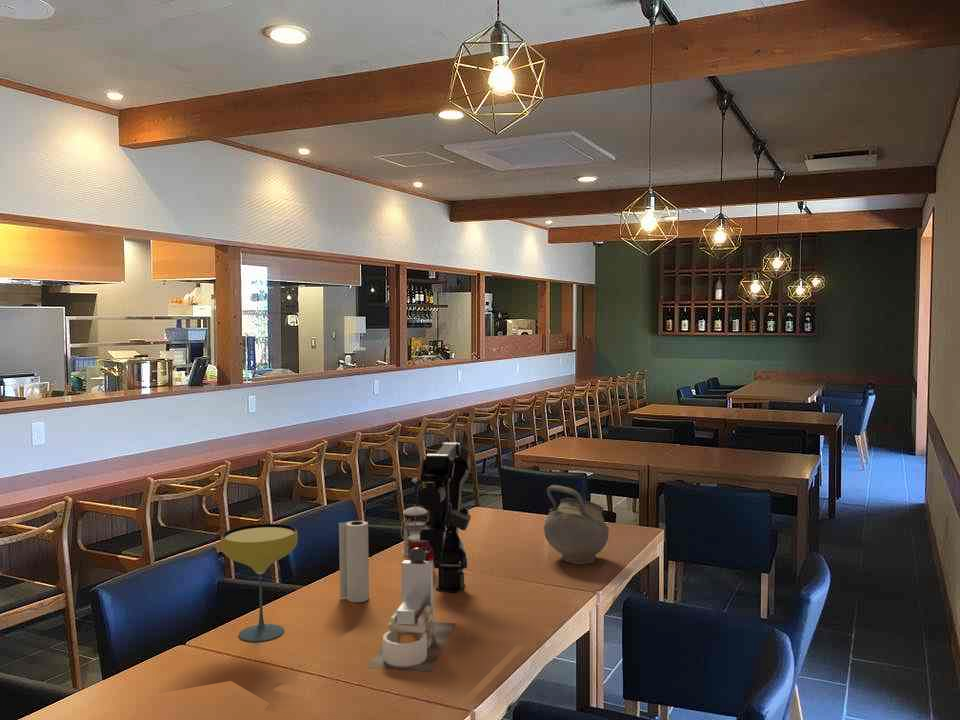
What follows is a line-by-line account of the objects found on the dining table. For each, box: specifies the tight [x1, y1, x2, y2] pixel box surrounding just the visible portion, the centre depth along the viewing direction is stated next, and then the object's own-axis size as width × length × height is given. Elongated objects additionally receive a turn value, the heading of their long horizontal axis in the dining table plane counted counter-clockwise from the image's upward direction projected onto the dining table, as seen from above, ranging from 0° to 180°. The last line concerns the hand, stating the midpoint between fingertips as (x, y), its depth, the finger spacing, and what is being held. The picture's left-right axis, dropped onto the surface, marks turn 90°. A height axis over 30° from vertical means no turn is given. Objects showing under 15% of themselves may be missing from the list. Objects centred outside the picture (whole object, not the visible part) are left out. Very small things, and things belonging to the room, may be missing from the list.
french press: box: [400, 477, 428, 557], centre depth 260 cm, size 10×12×25 cm
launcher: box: [366, 603, 456, 673], centre depth 182 cm, size 28×14×10 cm, turn 171°
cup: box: [382, 630, 427, 667], centre depth 175 cm, size 10×10×5 cm
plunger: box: [396, 547, 435, 635], centre depth 181 cm, size 13×7×21 cm, turn 171°
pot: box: [543, 484, 610, 565], centre depth 251 cm, size 21×21×25 cm
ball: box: [399, 634, 417, 643], centre depth 176 cm, size 4×4×4 cm
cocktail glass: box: [220, 523, 299, 643], centre depth 192 cm, size 18×18×25 cm
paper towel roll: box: [338, 520, 370, 603], centre depth 216 cm, size 7×6×21 cm
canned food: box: [407, 534, 435, 571], centre depth 240 cm, size 8×8×11 cm
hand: (439, 558), depth 210 cm, fingers closed
